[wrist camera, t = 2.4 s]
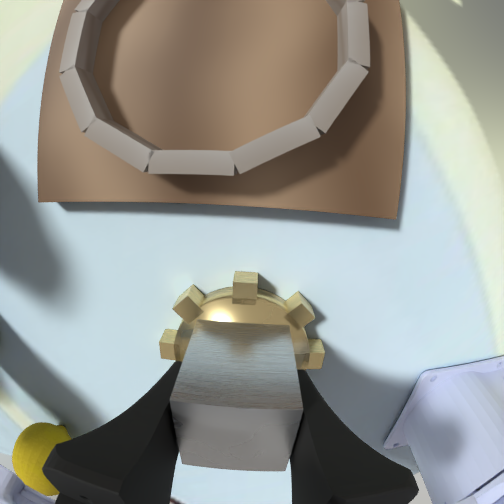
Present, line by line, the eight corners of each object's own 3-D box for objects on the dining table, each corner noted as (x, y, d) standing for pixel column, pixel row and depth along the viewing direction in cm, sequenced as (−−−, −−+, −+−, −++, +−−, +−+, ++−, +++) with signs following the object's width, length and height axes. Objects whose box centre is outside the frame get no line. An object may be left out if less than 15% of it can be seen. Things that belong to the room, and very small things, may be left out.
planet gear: (332, 276, 13) (379, 360, 7) (306, 398, 16) (321, 487, 10) (161, 266, 13) (100, 341, 7) (172, 390, 16) (145, 475, 10)
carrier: (382, -37, 8) (400, -62, 5) (384, 214, 12) (413, 227, 10) (88, -33, 8) (67, -52, 5) (52, 198, 12) (18, 208, 10)
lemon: (88, 423, 17) (50, 498, 10) (93, 454, 19) (65, 518, 11) (33, 394, 17) (-12, 457, 9) (44, 429, 19) (10, 485, 11)
